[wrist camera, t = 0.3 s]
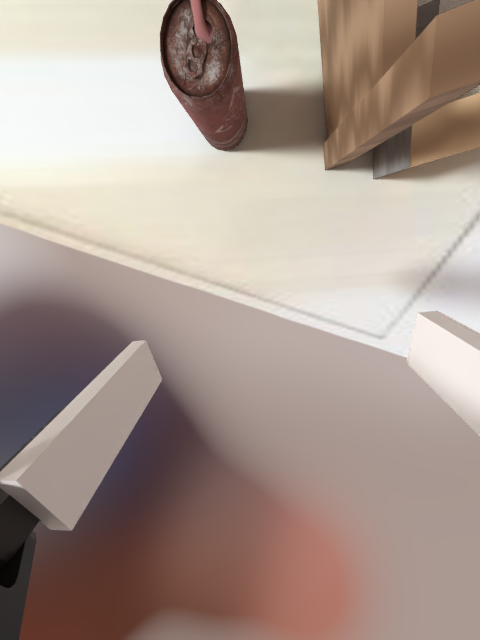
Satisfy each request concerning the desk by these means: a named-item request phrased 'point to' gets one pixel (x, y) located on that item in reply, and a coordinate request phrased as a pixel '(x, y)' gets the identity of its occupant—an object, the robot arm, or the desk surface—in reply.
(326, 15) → the wooden u-shaped stand
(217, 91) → the can
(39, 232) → the desk surface
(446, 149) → the tan rectangular block
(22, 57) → the desk surface
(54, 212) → the desk surface
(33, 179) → the desk surface
